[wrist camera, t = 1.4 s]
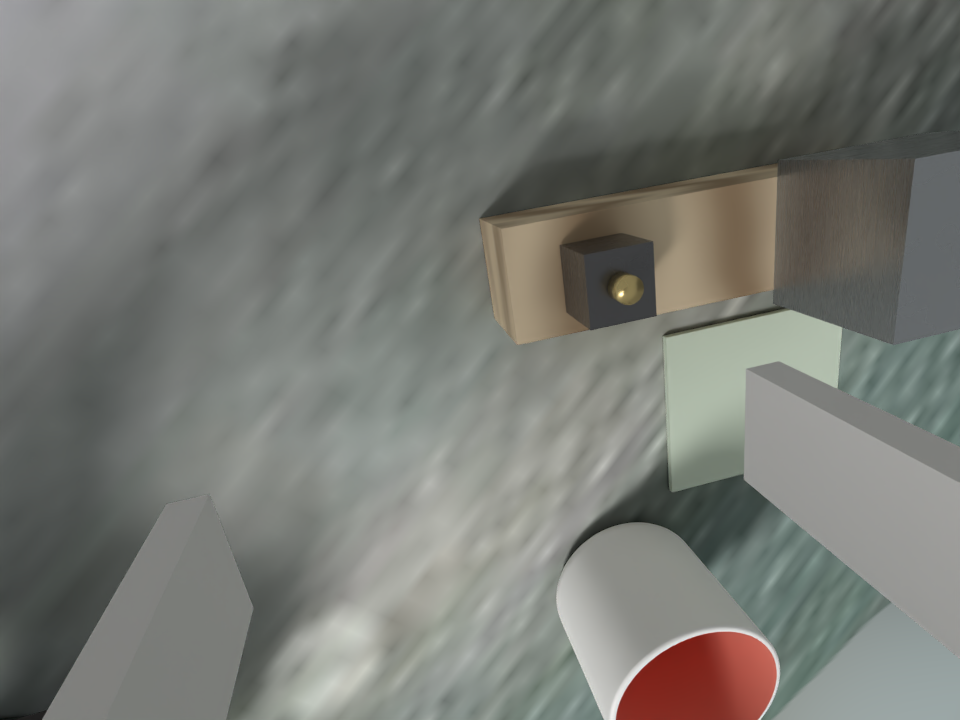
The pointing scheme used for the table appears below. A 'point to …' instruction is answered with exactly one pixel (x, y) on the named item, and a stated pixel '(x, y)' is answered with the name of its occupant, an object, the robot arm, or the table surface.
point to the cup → (662, 631)
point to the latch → (609, 280)
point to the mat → (732, 385)
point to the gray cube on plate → (872, 236)
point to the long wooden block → (645, 214)
